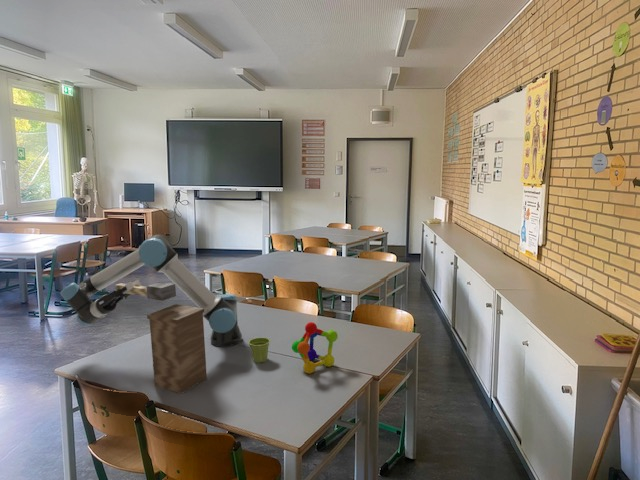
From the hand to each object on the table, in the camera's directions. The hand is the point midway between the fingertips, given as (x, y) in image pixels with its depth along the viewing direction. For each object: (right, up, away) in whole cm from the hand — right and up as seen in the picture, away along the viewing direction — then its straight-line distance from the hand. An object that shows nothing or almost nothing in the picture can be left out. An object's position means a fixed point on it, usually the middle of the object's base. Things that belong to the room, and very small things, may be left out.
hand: (135, 283), depth 186 cm
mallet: (+3, -4, -1) cm, 6 cm away
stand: (+19, -39, -3) cm, 44 cm away
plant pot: (+48, -35, +16) cm, 62 cm away
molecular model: (+71, -36, +9) cm, 80 cm away
